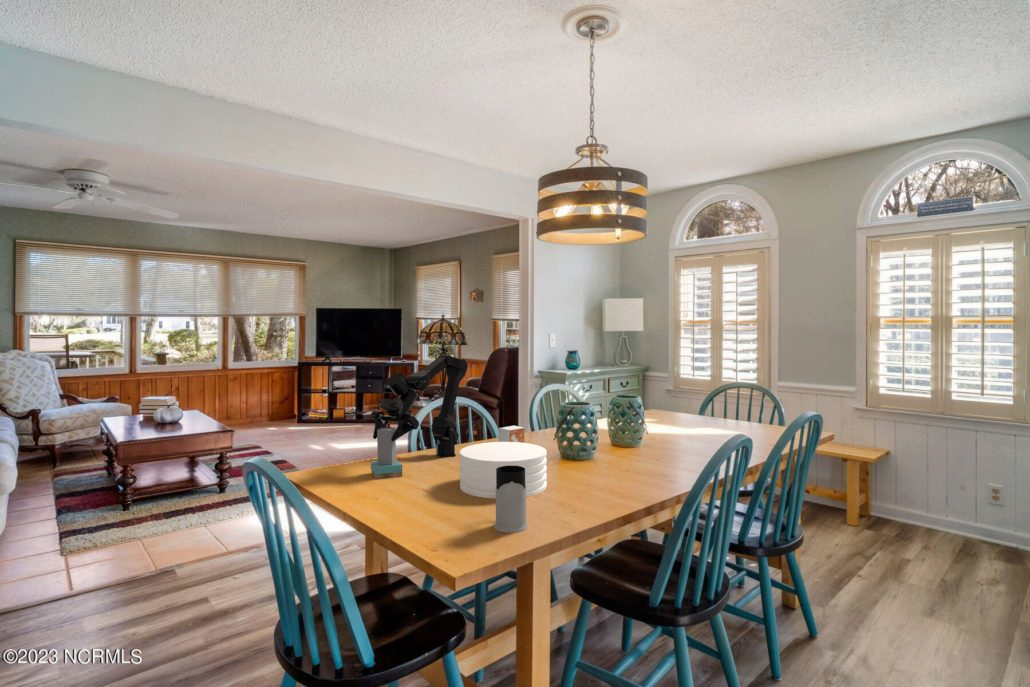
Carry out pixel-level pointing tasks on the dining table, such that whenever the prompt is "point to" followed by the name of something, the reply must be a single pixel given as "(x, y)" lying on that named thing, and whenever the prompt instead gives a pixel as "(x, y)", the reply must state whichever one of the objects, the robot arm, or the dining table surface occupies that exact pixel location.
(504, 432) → the small box
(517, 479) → the glass holder
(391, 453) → the grey pillar block
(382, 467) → the teal slab
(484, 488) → the plate stack
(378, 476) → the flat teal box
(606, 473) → the dining table surface
